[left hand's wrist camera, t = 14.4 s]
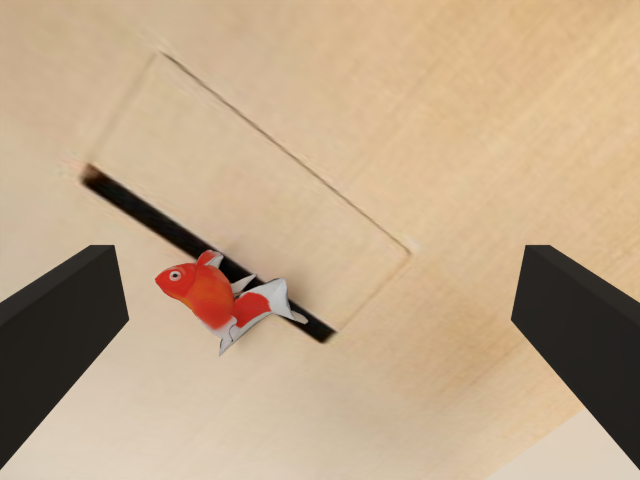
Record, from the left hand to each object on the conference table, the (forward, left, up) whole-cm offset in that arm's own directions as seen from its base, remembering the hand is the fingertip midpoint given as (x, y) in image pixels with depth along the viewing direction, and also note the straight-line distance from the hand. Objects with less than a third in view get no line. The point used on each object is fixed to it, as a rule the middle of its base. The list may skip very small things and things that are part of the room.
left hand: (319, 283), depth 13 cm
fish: (-12, -11, -28) cm, 32 cm away
